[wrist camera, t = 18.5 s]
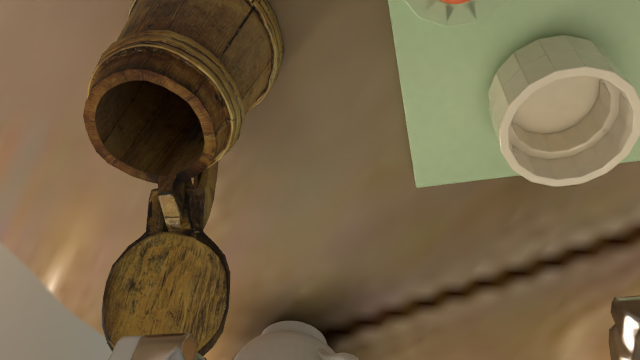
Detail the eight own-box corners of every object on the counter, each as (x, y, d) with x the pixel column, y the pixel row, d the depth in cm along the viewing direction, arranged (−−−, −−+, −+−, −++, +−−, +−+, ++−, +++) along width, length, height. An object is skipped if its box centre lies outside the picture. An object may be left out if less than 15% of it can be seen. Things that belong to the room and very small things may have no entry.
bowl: (483, 43, 32) (496, 79, 28) (617, 21, 31) (649, 56, 27) (490, 148, 35) (502, 193, 32) (609, 133, 34) (637, 177, 31)
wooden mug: (176, 168, 41) (60, 394, 26) (112, -33, 33) (-100, 127, 19) (304, 159, 40) (258, 393, 25) (267, -51, 32) (171, 106, 17)
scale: (375, -94, 30) (374, -79, 28) (673, -157, 28) (706, -149, 25) (414, 169, 39) (417, 201, 36) (643, 140, 37) (665, 172, 34)
